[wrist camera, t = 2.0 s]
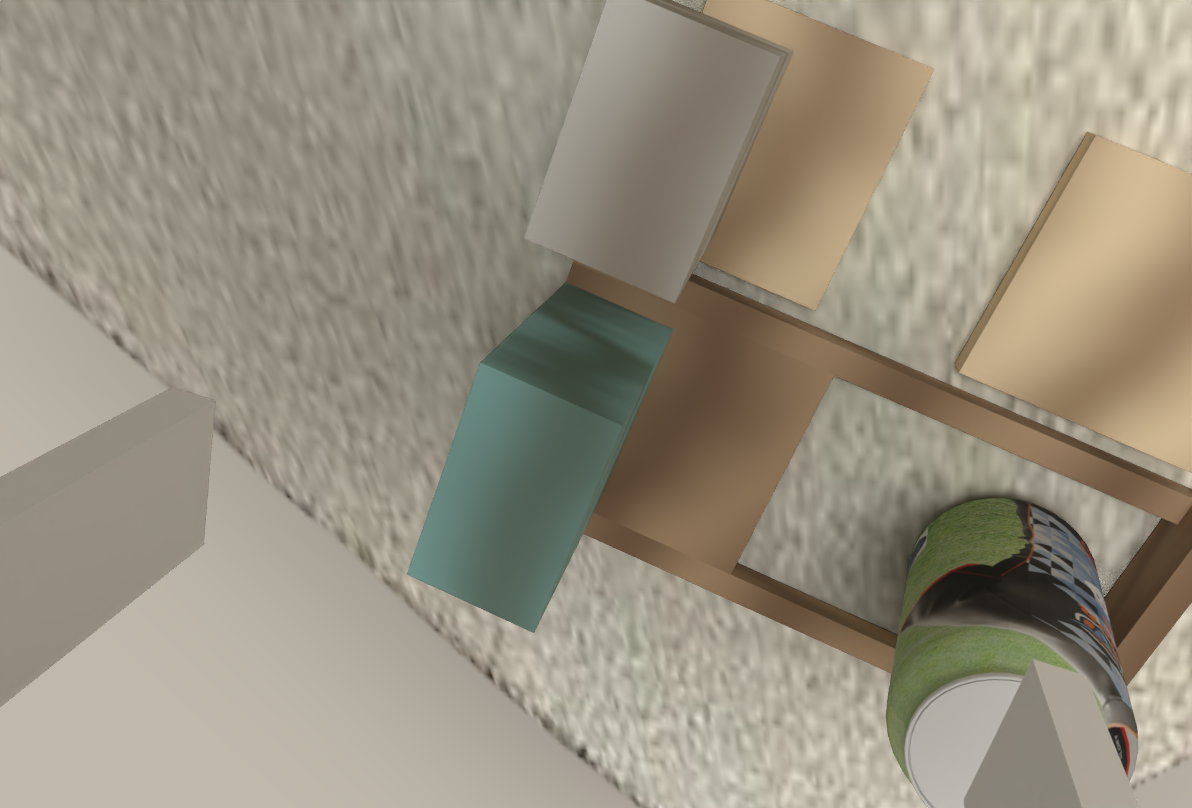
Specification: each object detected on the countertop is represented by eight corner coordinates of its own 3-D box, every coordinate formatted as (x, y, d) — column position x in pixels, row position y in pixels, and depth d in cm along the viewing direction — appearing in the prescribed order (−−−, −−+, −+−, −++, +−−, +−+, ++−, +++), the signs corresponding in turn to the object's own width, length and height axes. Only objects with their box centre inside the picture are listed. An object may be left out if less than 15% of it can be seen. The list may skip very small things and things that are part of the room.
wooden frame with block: (496, 479, 38) (390, 620, 29) (590, 229, 34) (501, 302, 24) (1044, 727, 36) (1117, 959, 27) (1214, 499, 32) (1367, 682, 23)
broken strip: (597, 209, 33) (511, 275, 24) (688, -32, 30) (627, -61, 21) (1184, 461, 32) (1327, 632, 23) (1344, 237, 29) (1584, 331, 20)
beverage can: (1042, 659, 35) (1137, 938, 25) (845, 592, 36) (852, 833, 25) (1121, 513, 33) (1267, 751, 22) (908, 445, 34) (946, 640, 23)
